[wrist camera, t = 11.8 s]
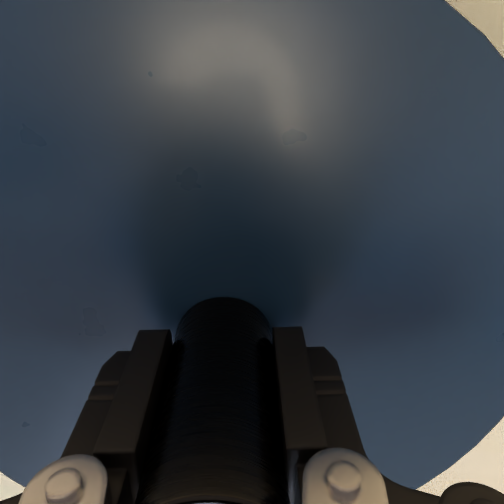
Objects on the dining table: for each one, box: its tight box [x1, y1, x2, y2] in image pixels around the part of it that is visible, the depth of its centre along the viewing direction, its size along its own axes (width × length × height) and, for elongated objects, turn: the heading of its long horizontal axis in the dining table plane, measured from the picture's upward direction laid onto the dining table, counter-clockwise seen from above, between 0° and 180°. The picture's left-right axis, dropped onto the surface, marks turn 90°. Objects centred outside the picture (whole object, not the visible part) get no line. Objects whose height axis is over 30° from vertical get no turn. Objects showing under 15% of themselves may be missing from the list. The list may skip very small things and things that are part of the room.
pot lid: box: [0, 0, 504, 504], centre depth 9 cm, size 18×18×7 cm
